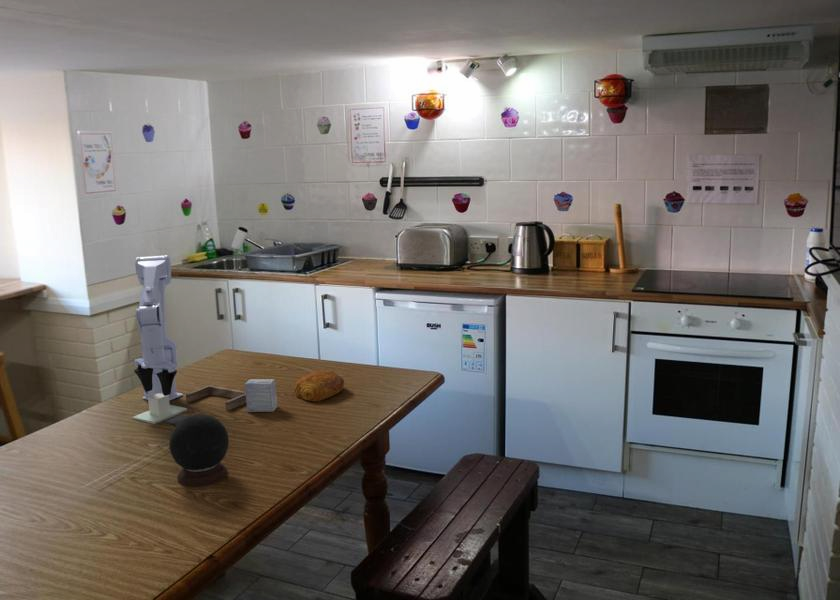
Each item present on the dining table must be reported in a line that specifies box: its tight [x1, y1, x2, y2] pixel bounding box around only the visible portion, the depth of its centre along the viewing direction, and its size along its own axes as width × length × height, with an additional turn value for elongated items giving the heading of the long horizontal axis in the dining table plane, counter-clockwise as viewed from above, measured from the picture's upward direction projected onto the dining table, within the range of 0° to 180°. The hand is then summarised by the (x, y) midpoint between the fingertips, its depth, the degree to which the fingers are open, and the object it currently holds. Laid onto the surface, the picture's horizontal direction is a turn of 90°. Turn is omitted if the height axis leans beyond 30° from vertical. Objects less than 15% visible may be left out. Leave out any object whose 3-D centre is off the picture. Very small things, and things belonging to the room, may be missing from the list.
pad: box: [131, 404, 188, 425], centre depth 217 cm, size 9×12×1 cm
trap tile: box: [163, 413, 189, 426], centre depth 212 cm, size 6×6×1 cm
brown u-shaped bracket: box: [185, 384, 246, 412], centre depth 227 cm, size 17×10×2 cm, turn 60°
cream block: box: [147, 393, 171, 416], centre depth 217 cm, size 4×4×5 cm
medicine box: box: [244, 378, 278, 413], centre depth 218 cm, size 8×4×9 cm, turn 84°
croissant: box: [293, 370, 345, 402], centre depth 231 cm, size 14×16×8 cm
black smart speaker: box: [169, 413, 230, 488], centre depth 174 cm, size 13×13×15 cm
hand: (157, 392), depth 216 cm, fingers open, 7 cm apart
